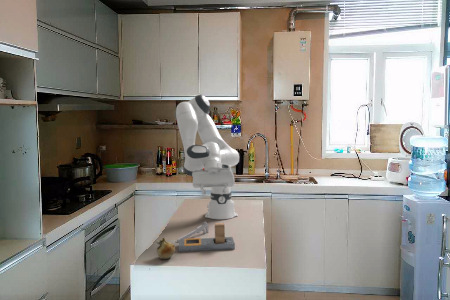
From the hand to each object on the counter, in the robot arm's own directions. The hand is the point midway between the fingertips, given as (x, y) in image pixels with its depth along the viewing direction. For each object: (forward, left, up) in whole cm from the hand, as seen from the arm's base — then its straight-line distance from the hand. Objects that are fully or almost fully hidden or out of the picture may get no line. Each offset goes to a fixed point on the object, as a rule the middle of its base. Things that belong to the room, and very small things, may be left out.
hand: (214, 193), depth 178 cm
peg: (+13, +1, -21) cm, 25 cm away
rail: (+13, -5, -21) cm, 25 cm away
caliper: (-2, -11, -22) cm, 24 cm away
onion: (+24, -22, -21) cm, 39 cm away
